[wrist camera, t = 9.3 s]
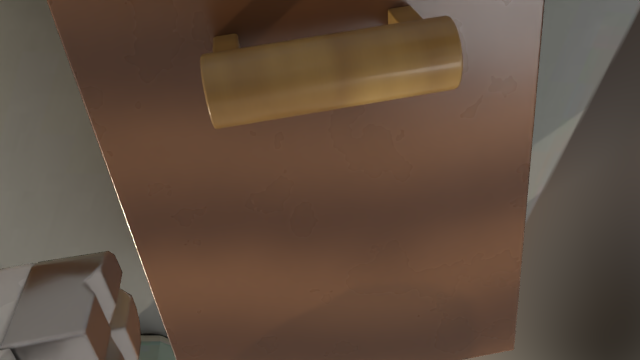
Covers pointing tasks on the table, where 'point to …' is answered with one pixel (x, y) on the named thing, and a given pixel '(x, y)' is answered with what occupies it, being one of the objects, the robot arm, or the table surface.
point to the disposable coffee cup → (156, 348)
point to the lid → (318, 168)
